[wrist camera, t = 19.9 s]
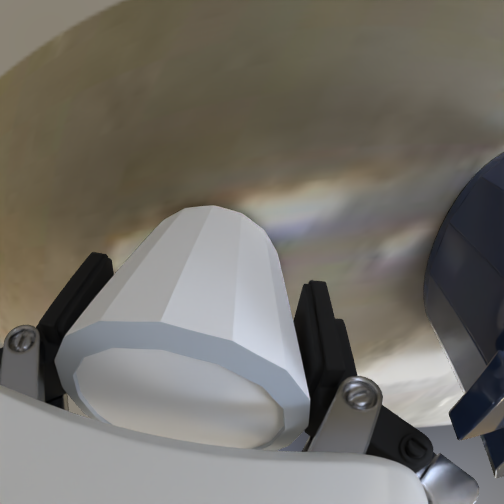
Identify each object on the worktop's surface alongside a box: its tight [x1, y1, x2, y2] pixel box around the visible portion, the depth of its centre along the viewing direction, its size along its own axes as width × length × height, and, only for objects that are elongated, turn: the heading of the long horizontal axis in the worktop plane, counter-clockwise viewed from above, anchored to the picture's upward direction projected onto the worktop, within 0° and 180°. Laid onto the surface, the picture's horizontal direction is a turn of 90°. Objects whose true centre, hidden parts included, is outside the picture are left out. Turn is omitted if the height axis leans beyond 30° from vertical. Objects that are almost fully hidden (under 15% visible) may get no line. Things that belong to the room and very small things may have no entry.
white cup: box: [54, 205, 310, 451], centre depth 10 cm, size 7×7×7 cm
